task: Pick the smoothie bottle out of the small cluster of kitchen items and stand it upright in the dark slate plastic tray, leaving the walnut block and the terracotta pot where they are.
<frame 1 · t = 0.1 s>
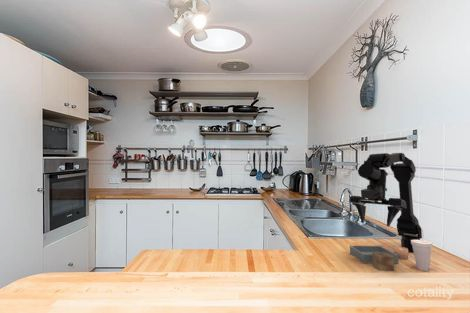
hand: (374, 224, 95), 15 cm above the counter, tool pointing down, fingers open, 9 cm apart
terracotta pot: (401, 257, 104), on the counter
walnut block: (383, 268, 92), on the counter
tray: (372, 257, 103), on the counter
smoothie: (423, 269, 91), on the counter
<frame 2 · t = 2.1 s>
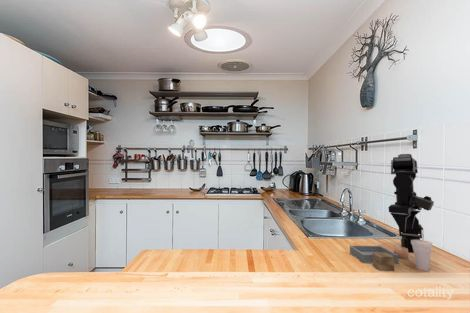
hand: (407, 230, 95), 13 cm above the counter, tool pointing down, fingers open, 9 cm apart
nothing on the counter moved.
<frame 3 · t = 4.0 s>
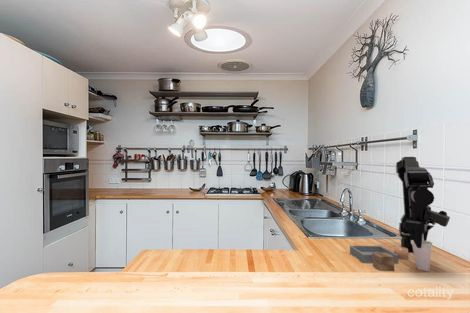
hand: (421, 246, 92), 8 cm above the counter, tool pointing down, fingers closed on smoothie, 6 cm apart
smoothie: (423, 269, 91), on the counter, touching gripper
everything else where it was.
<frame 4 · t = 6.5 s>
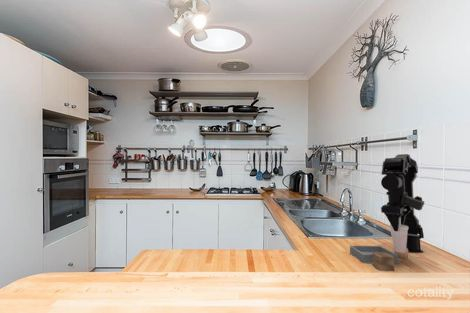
hand: (398, 229, 97), 13 cm above the counter, tool pointing down, fingers closed on smoothie, 6 cm apart
smoothie: (400, 251, 96), point 5 cm above the counter, touching gripper
everything else where it was.
when the fingers open (10 cm above the counter, at t = 8.8 s): smoothie drops 1 cm, resting on tray.
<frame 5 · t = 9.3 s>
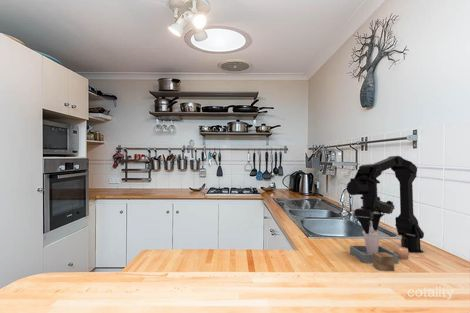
hand: (371, 232, 104), 10 cm above the counter, tool pointing down, fingers open, 9 cm apart
smoothie: (372, 256, 104), point 1 cm above the counter, touching tray
everything else where it was.
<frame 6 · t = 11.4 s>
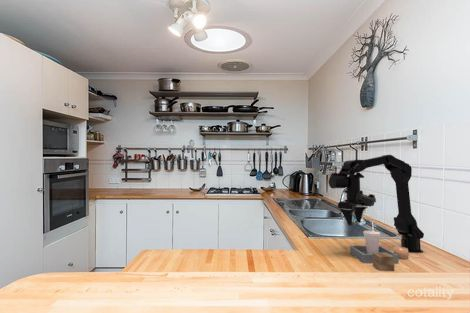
hand: (354, 223, 110), 13 cm above the counter, tool pointing down, fingers open, 9 cm apart
nothing on the counter moved.
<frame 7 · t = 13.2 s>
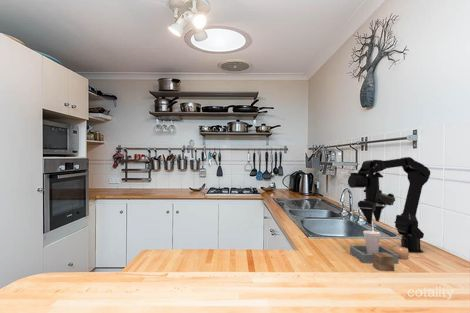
hand: (373, 222, 112), 13 cm above the counter, tool pointing down, fingers open, 9 cm apart
nothing on the counter moved.
at the end: smoothie inside the target area on the tray (0.1 cm from its centre), point 0.6 cm above the tray's base; smoothie tilted 0°; the gripper is holding nothing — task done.
